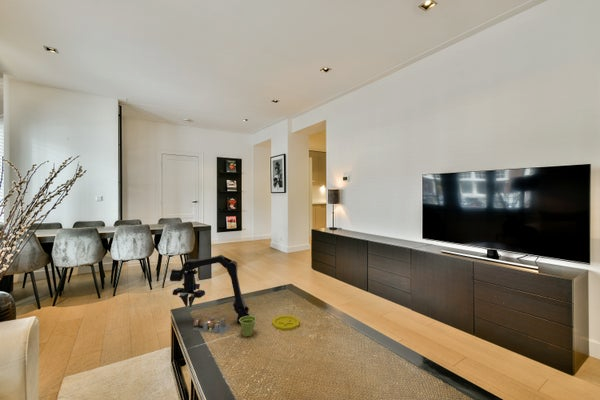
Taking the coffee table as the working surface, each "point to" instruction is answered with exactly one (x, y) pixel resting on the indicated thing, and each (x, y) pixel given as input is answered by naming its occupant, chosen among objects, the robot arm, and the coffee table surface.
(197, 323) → the copper tube
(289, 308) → the coffee table surface
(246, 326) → the plant pot
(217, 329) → the board
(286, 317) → the decorative disc
